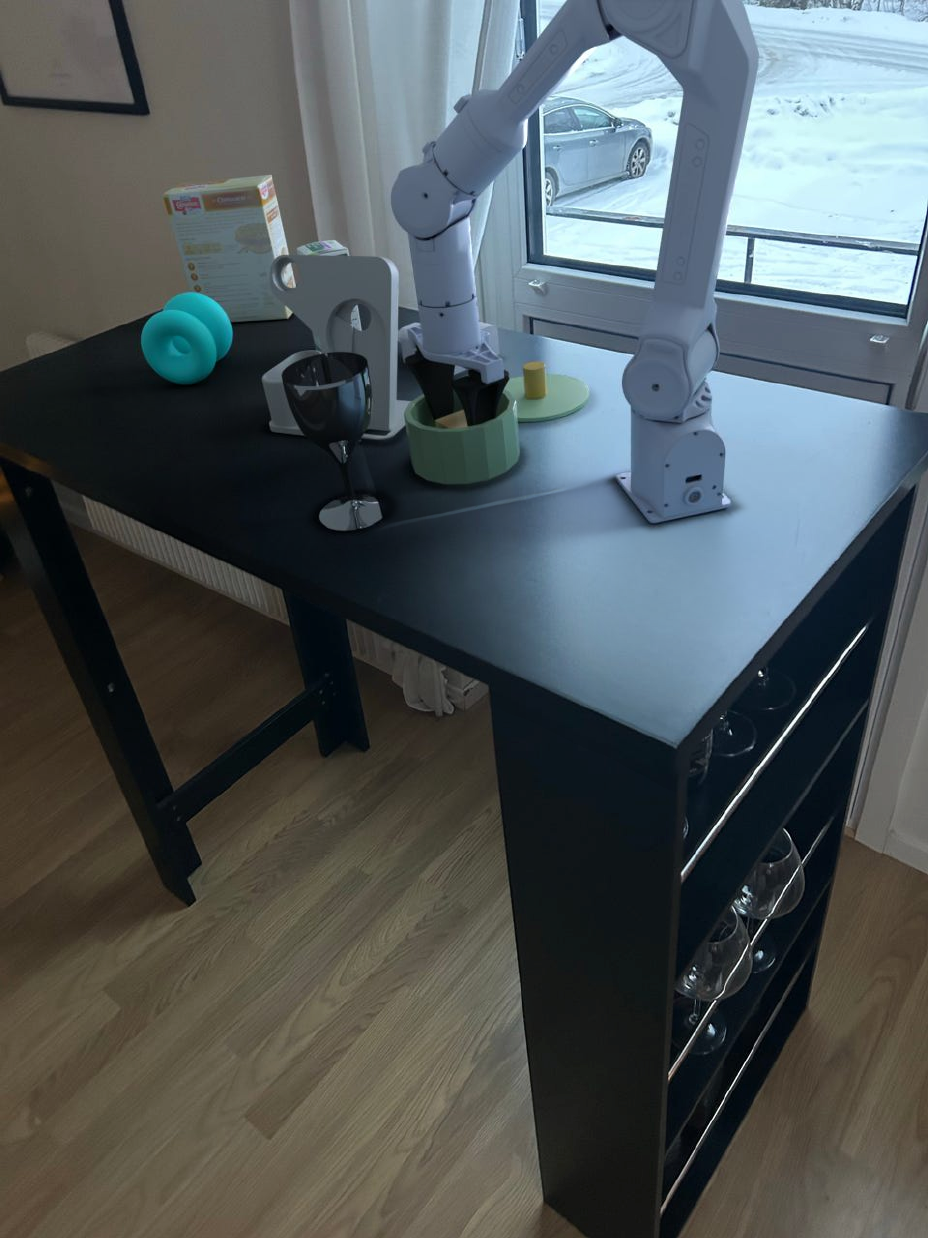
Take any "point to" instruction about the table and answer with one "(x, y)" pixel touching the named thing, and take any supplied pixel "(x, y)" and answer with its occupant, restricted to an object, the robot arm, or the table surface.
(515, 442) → the tin
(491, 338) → the charger
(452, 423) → the block
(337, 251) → the syrup box
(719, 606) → the table surface
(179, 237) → the coffeecake box
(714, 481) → the robot arm
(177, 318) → the turquoise yo-yo
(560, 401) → the lid
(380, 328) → the phone holder
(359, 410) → the wine glass
